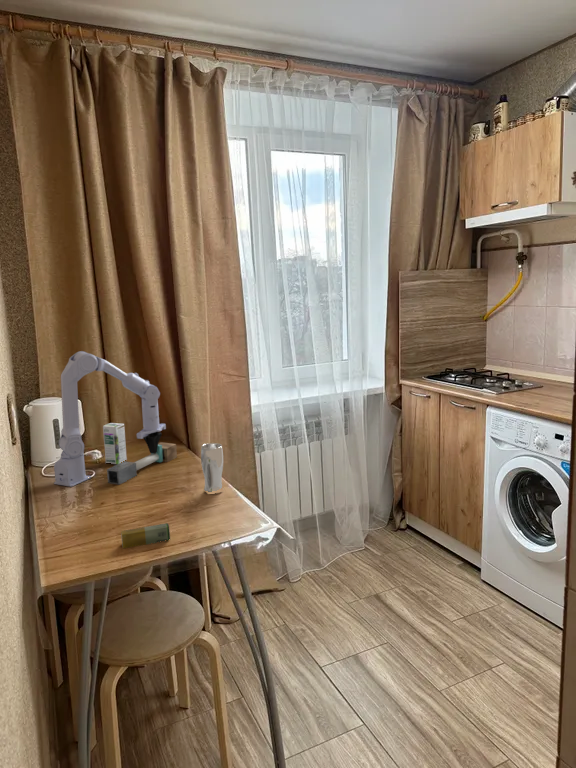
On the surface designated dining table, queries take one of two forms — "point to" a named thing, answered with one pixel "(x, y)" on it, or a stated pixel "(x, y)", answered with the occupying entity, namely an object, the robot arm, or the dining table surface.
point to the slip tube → (150, 458)
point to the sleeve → (121, 472)
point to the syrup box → (114, 443)
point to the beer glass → (212, 466)
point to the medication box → (145, 535)
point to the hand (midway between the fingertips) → (153, 452)
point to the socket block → (169, 451)
